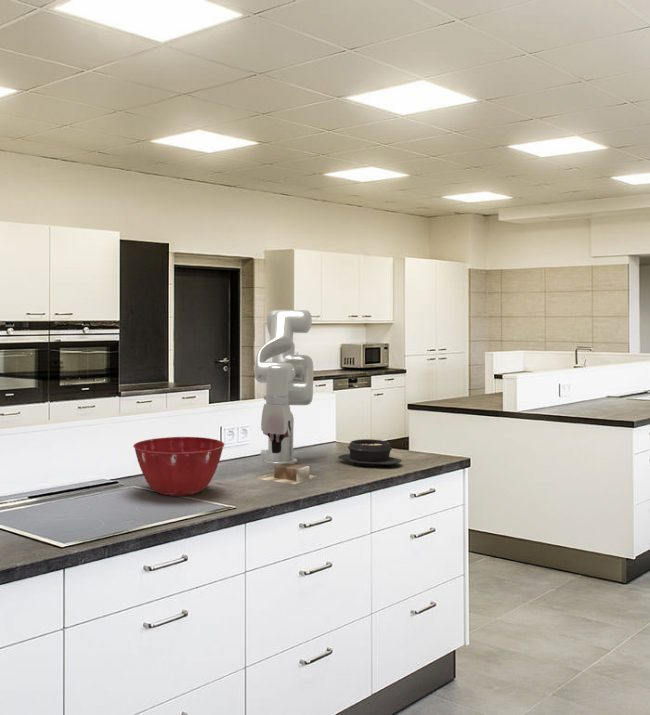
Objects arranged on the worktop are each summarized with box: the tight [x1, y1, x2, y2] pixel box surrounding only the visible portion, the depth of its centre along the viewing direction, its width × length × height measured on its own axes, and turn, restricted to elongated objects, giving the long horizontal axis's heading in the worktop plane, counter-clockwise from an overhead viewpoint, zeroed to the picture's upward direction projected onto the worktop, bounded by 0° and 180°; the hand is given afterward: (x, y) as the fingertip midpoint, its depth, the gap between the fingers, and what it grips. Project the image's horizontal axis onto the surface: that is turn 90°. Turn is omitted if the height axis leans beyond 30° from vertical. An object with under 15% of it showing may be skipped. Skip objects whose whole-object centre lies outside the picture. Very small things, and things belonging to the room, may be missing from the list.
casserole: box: [337, 438, 402, 467], centre depth 315 cm, size 25×19×8 cm
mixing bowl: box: [132, 436, 225, 497], centre depth 262 cm, size 28×28×16 cm
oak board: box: [254, 472, 318, 485], centre depth 285 cm, size 16×16×1 cm
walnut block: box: [273, 463, 311, 481], centre depth 283 cm, size 4×7×10 cm
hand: (276, 452), depth 287 cm, fingers closed
